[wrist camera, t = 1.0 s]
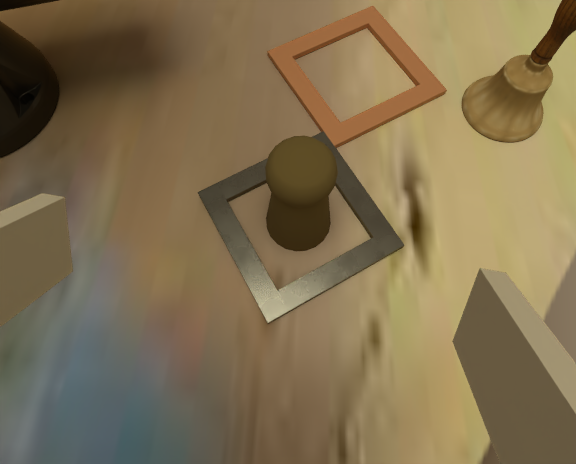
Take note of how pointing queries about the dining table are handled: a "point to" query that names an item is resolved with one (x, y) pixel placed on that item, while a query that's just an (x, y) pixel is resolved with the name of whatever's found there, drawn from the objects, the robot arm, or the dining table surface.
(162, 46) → the dining table surface
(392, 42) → the frame
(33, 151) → the dining table surface
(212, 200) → the frame
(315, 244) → the cork
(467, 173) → the dining table surface
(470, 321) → the robot arm
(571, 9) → the hand bell
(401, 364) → the dining table surface
